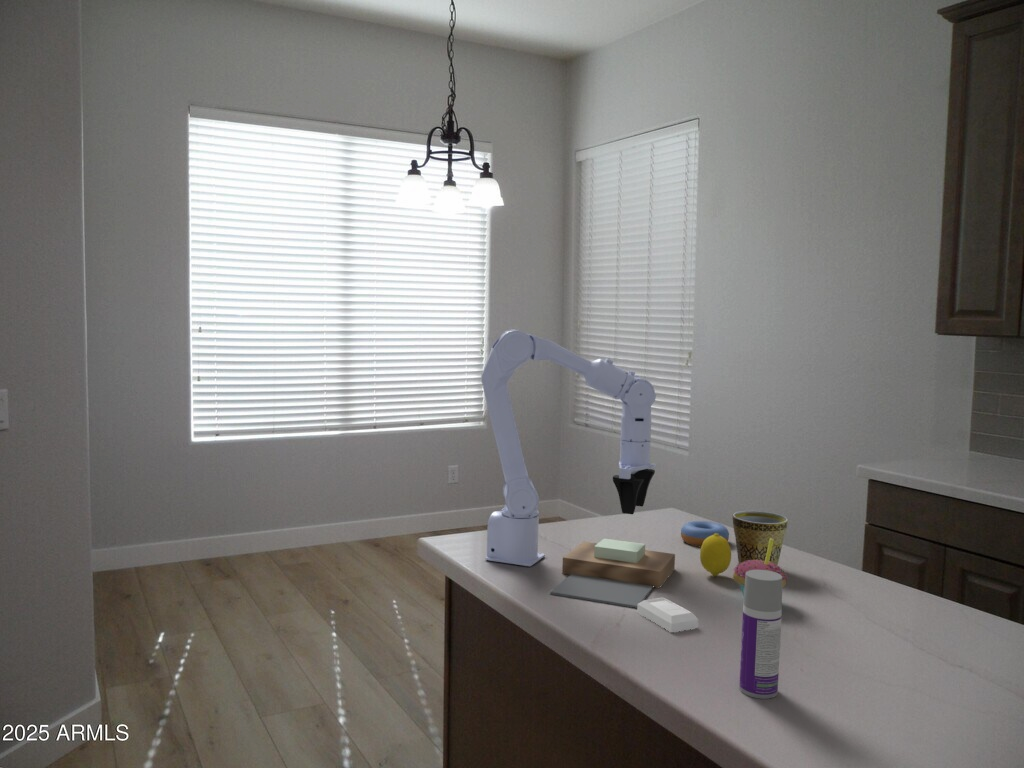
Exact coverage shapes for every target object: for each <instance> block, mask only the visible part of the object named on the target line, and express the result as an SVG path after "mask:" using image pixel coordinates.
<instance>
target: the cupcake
mask: <svg viewBox="0 0 1024 768" xmlns="http://www.w3.org/2000/svg"><path fill="white" fill-rule="evenodd" d="M773 536H774V535H772V538H770V539H769V544H768V549H767V554H766V558H765V561H762V560H755V559H754V560H746V561H744V562H742V563H740V564H739V563H737V565H736V567H735V568H734V569H733V570H734V571H733V574H732V579H733V580H734V582H736V583H737V584H739V587H740V591H741V593H742V596H743V597H742V598H743V599H744V588H745V575H746V572H747V571H749V570H768V571H772V572H776V573H778V574H780V575H781V576H782V588H784V587H786V584H787V581H788V575H787V574H786V572H785V571H784V570H783V568H782V567H780V566H779V565H776V564H775V563H772V562H771V561H769V560H770V555H771V550H772V545H773V541H774V539H773Z"/></svg>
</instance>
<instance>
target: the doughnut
mask: <svg viewBox="0 0 1024 768" xmlns="http://www.w3.org/2000/svg"><path fill="white" fill-rule="evenodd" d="M680 529H681V530H680V537H681V538H682V540H683V541H684V542H685V543H686V544H688V545H692V546H694V547H699V546H700V548H701V546H702V543H703V541H704V540H705V539H706V538H707V537H709V536H711V535H714V534H715V533H717V534H719V535H720V536H722V537H723V538H725V539H726V540H727V541H728V542H729V538H730V532H729V530H728V528H727V527H726V526H725V525H723V524H720V523H719V522H714V521H706V520H705V521H704V520H693V521H692V520H691V521H688V522H686V523H684V524H683V526H682V527H681V528H680Z"/></svg>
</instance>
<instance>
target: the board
mask: <svg viewBox="0 0 1024 768" xmlns="http://www.w3.org/2000/svg"><path fill="white" fill-rule="evenodd" d="M597 544H598V542H589V541H582V542H581V543H580V544H578V545H577V546H576V547H574V548H573V549H572V550H570V551H569V552H568V553H566V554H565V555H564V556H562V568H561V569H562V571H561V573H562V575H569V576H570V575H571V574H577V575H583V576H590V577H596V578H603V579H609V580H616V581H623V582H629V583H636V584H642V585H649V586H654V587H660V586H661V585H662V584H663V583H664V584H665V582H666V581H667V580H668V579H669V577H670V576H671V575H672V574H673V572H674V571H675V569H676V567H675V564H676V554H675V553H670V552H664V551H663V552H662V551H655V550H648V549H645V555H644V556H643V557H642V558H641V559H640V560H639V561H638V562H637V563H633V562H626V561H619V560H612V559H605V558H598V557H594V546H595V545H597ZM673 570H674V571H673ZM670 574H671V575H670ZM669 575H670V576H669ZM668 576H669V577H668ZM667 578H668V579H667ZM666 579H667V580H666ZM665 580H666V581H665ZM664 581H665V582H664ZM664 584H663V585H664ZM663 585H662V586H663ZM662 586H661V587H662ZM661 587H660V588H661Z"/></svg>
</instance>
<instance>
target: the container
mask: <svg viewBox="0 0 1024 768" xmlns="http://www.w3.org/2000/svg"><path fill="white" fill-rule="evenodd" d="M782 605H783V587H782V576H781V575H780V574H778V573H776V572H772V571H768V570H749V571H747V572H746V575H745V588H744V598H743V604H742V621H741V623H742V624H741V638H740V639H741V640H740V641H741V643H740V644H741V645H740V661H739V662H740V664H739V690H740V691H741V693H743V694H744V695H746V696H748V697H751V698H755V699H763V700H764V699H766V700H767V699H769V700H770V699H773V698H775V697H776V696H778V689H779V675H780V674H779V671H780V653H781V652H780V651H781V634H782V611H783V609H782Z"/></svg>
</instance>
